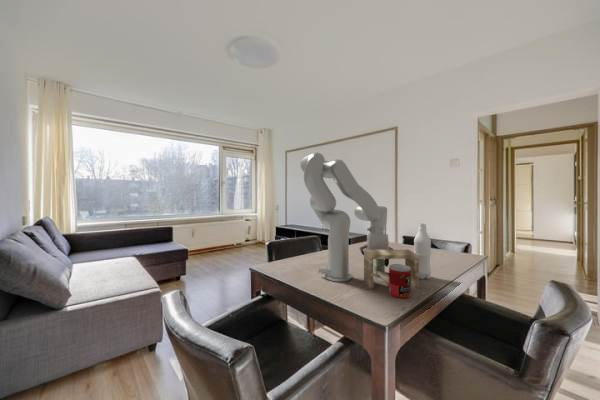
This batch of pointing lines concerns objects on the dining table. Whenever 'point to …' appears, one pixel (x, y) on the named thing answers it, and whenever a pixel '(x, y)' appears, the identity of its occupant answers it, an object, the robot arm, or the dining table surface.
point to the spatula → (381, 270)
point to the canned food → (400, 281)
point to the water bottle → (423, 251)
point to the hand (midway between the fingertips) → (376, 265)
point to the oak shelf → (408, 255)
